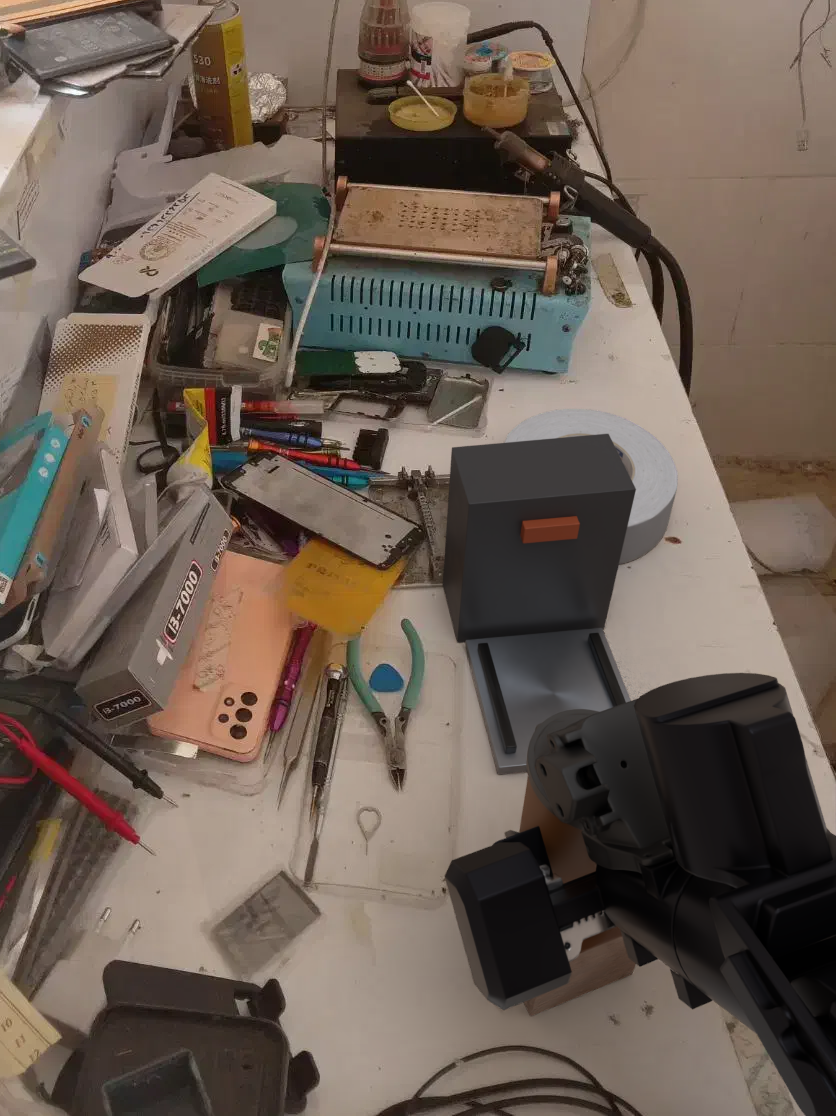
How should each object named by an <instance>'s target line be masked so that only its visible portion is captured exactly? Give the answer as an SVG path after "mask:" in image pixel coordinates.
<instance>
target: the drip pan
mask: <svg viewBox="0 0 836 1116" xmlns="http://www.w3.org/2000/svg"><path fill="white" fill-rule="evenodd" d="M464 643H465V645H464V648H465V652H466V656H467V660H468V665H469V668H470V672H471V676H472V680H473V682H474V688H475V691H476V695H477V700H478V703H479V707H480V711H481V714H482V718H483V722H484V726H485V729H486V734H487V738H488V742H489V746H490V749H491V753H492V757H493V761H494V765H495V768H496V772H497V775H509V774H520V773H527V765H526V761H527V752H528V747H529V742H530V740H531V737H532V735H533V733H534V732H535V728H536V726H537V725H538V724H540V723H542V722H544V721H545V720H546V719H548V718H549V717H551V716H552V715H555V714H557V713H559V712H563V711H566V710H573V709H587V710H594V711H599V712H601V711H604V710H606V709H609V708H612V707H615V706H618V705H621V704H623V703H626V702H629V701H632V699H631V697H630V694H629V692H628V689H627V687H626V684H625V682H624V679H623V677H622V674H621V671H620V669H619V666H618V664H617V661H616V659H615V657H614V654H613V652H612V651H613V650H612V649H611V646H610V644H609V641H608V639H607V635H606V633H605V631H604V629H602V628H591V629H580V630H569V631H558V632H547V633H536V634H525V635H515V636H504V637H493V638H482V639H471V640H466V642H464Z"/></svg>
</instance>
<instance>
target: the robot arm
mask: <svg viewBox="0 0 836 1116" xmlns="http://www.w3.org/2000/svg"><path fill="white" fill-rule="evenodd" d="M547 741H548V744H549V747H550V752H549V754H548V755H545V756H543V757H540V758H538V759H537V761H536V768H537V773H538V775H539V777H540V780H541V782H542V785H543V787H544V790H545V792H546V795H547V797H548V799H549V802H550V804H551V807H552V809H553V812H554V814H555V815H556V817H557V818H558V819H559V820H560V821H561V822H563V823H569V822H572V821H575V820H578V821H580V822H581V824H582V826H583V828H584V831H582V836H583V839H584V842H585V846H586V849H587V853H588V856H589V858H590V859H591V860H592V861H593V862H595V864H596V871H595V872H592V873H590V874H587V875H584V876H582V877H579V878H577V879H574V880H572V881H569V882H566V883H564V884H563V881H562V878H561V877H560V876H559V875H557V874H556V873H553V872H552V869H551V865H550V862H549V858H548V855H547V851H546V848H545V844H544V841H543V837H542V834H541V830H540V827H539V826H536V827H534V828H531V829H528V830H526V831H523V832H520V833H519V831H516V830H512V829H509V830H506V831H504V837H505V838H502V839H499V840H496V841H495V842H493V843H492V844H491V845H489V846H486V847H483V848H481V849H479V850H476V851H472V852H471V853H467V854H465V855H463V856H459V857H457V858H454V859H452V860H451V861H450V863H449V866H448V867H447V870H446V872H445V874H444V880H445V884H446V887H447V890H448V894H449V898H450V901H451V905H452V909H453V912H454V916H455V920H456V923H457V928H458V930H459V935H460V938H461V941H462V945H463V948H464V952H465V955H466V960H467V963H468V967H469V970H470V974H471V978H472V981H473V984H474V986H475V988H476V989H477V990H478V991H479V992H480V993H481V995H482V996H483V997H484V998H485V999H486V1000H487V1001H488V1002H490V1003H492V1005H495V1007H498V1008H499V1009H501V1010H503V1011H506V1010H508V1009H510V1008H513V1007H516V1006H518V1005H520V1004H524V1002H525V1001H528V1000H530V999H532V998H535V997H537V996H540V995H542V994H544V993H547V992H549V991H552V990H554V989H557V988H559V987H561V986H564V985H566V984H569V980H570V977H571V973H572V971H571V967H570V964H569V962H571V961H573V960H574V959H576V958H577V957H578V955H579V953H580V951H581V945H582V942H583V940H585V939H587V938H589V937H592V936H594V935H597V934H599V933H602V932H604V931H607V930H609V929H612V928H614V927H616V926H617V927H618V928H620V931H621V934H622V938H623V941H624V944H625V948H626V951H627V955H628V958H629V959H631V960H632V961H633V962H634V963H636V966H638V967H639V968H641V967H643V966H645V965H648V964H651V963H653V962H655V961H658V960H659V961H660V962H662V963H663V964H664V965H666V966H667V967H668V968H669V970H670V974H671V978H672V981H673V984H674V988H675V991H676V994H677V996H678V999H679V1000H680V1001H681V1002H682V1003H684V1004H685V1005H686V1006H687V1007H688V1008H689V1009H691V1010H695V1009H697V1008H700V1007H702V1006H704V1005H706V1004H709V1003H711V1002H714V1003H715V1004H717V1005H718V1006H719V1007H721V1008H722V1009H724V1010H725V1011H726V1012H727V1013H728V1014H730V1015H731V1016H733V1018H735V1019H736V1020H738V1021H739V1022H740V1023H742V1024H743V1025H744V1026H745V1027H747V1028H748V1029H749V1030H751V1031H752V1032H753V1033H754V1034H755V1035H757V1037H758V1039H759V1041H760V1042H761V1044H762V1045H763V1048H764V1049H765V1051H766V1053H767V1054H768V1056H769V1058H770V1060H771V1062H772V1063H773V1065H774V1067H775V1069H776V1070H777V1072H778V1074H779V1075H780V1077H781V1079H782V1081H783V1083H784V1084H785V1086H786V1088H787V1090H788V1091H789V1093H790V1095H791V1097H792V1098H793V1100H794V1102H795V1103H796V1105H797V1107H798V1108H799V1110H800V1111H801V1113H802V1114H803V1115H804V1116H836V834H834V833H832V832H831V831H830V830H829V828H828V827H827V825H826V824H827V823H826V820H825V818H824V813H823V810H822V807H821V804H820V801H819V797H818V793H817V791H816V787H815V784H814V781H813V777H812V774H811V770H810V767H809V763H808V760H807V757H806V753H805V747H804V744H803V739H802V736H801V733H800V730H799V727H798V723H797V720H796V717H795V716H794V713H793V709H792V706H791V703H790V699H789V697H788V692H787V689H786V687H785V686H784V685H782V684H781V683H779V680H778V678H777V677H775V676H772V675H769V674H762V673H755V672H754V673H753V672H726V673H725V672H724V673H716V674H715V673H714V674H706V675H700V676H694V677H689V678H684V679H681V680H676V681H673V682H669V683H666V684H663V685H660V686H658V687H655V688H653V689H651V690H648V691H647V692H645V693H643V694H642V695H640V696H639V697H638V698H634V699H633V700H632V699H631V701H629V702H626V703H623V704H621V705H618V706H615V707H612V708H609V709H606V710H604V711H601V712H598V713H595V714H592V715H590V716H588V717H586V718H584V719H581V720H579V721H577V722H575V723H573V724H571V725H569V726H567V727H566V728H564V729H561V730H558V731H556V732H553V733H550V734H548V735H547Z"/></svg>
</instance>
